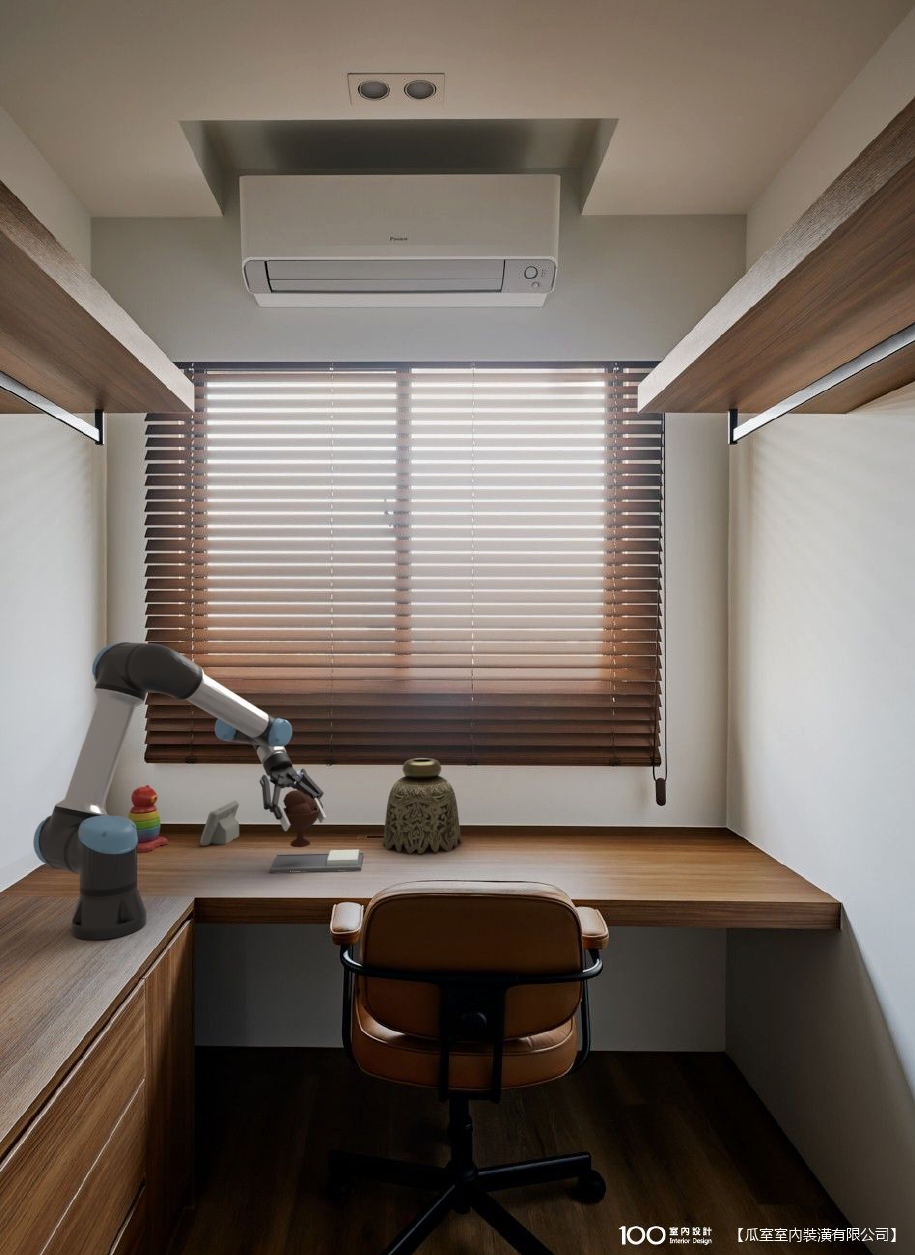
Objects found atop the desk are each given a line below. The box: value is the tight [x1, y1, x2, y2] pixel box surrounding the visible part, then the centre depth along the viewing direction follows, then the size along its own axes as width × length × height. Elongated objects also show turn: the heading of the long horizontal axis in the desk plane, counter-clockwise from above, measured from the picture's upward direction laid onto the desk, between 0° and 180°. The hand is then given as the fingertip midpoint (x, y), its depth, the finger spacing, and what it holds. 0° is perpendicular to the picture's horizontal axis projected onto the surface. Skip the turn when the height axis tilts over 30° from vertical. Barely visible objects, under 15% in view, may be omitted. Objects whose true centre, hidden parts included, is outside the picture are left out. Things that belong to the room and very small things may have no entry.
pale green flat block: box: [327, 849, 360, 866], centre depth 221 cm, size 8×10×2 cm
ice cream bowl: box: [282, 789, 320, 848], centre depth 220 cm, size 11×11×15 cm
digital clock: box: [199, 799, 240, 847], centre depth 244 cm, size 16×9×11 cm, turn 158°
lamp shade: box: [382, 757, 462, 855], centre depth 240 cm, size 23×23×25 cm
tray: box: [269, 851, 364, 874], centre depth 220 cm, size 24×13×1 cm, turn 94°
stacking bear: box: [127, 784, 169, 853], centre depth 238 cm, size 11×10×18 cm
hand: (305, 824), depth 218 cm, fingers closed on ice cream bowl, 11 cm apart
